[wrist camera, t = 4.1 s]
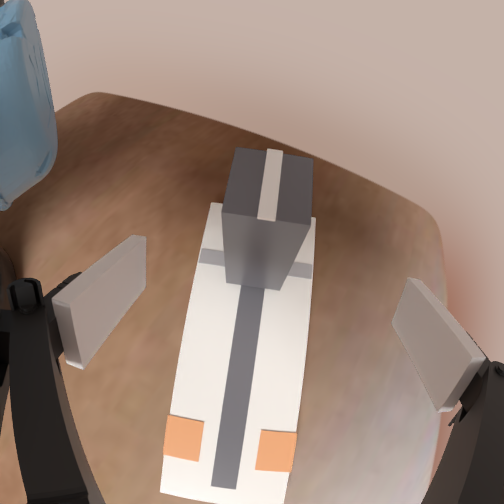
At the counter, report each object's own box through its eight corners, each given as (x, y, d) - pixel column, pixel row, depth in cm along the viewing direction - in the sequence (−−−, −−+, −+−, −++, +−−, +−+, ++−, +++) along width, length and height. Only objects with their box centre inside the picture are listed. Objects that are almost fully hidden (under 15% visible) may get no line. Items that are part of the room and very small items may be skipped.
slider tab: (279, 291, 22) (311, 224, 13) (226, 283, 22) (220, 211, 13) (284, 241, 24) (314, 156, 15) (234, 234, 24) (236, 144, 15)
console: (279, 500, 18) (283, 509, 16) (164, 483, 18) (158, 492, 16) (311, 228, 28) (317, 217, 26) (211, 214, 28) (210, 201, 26)
